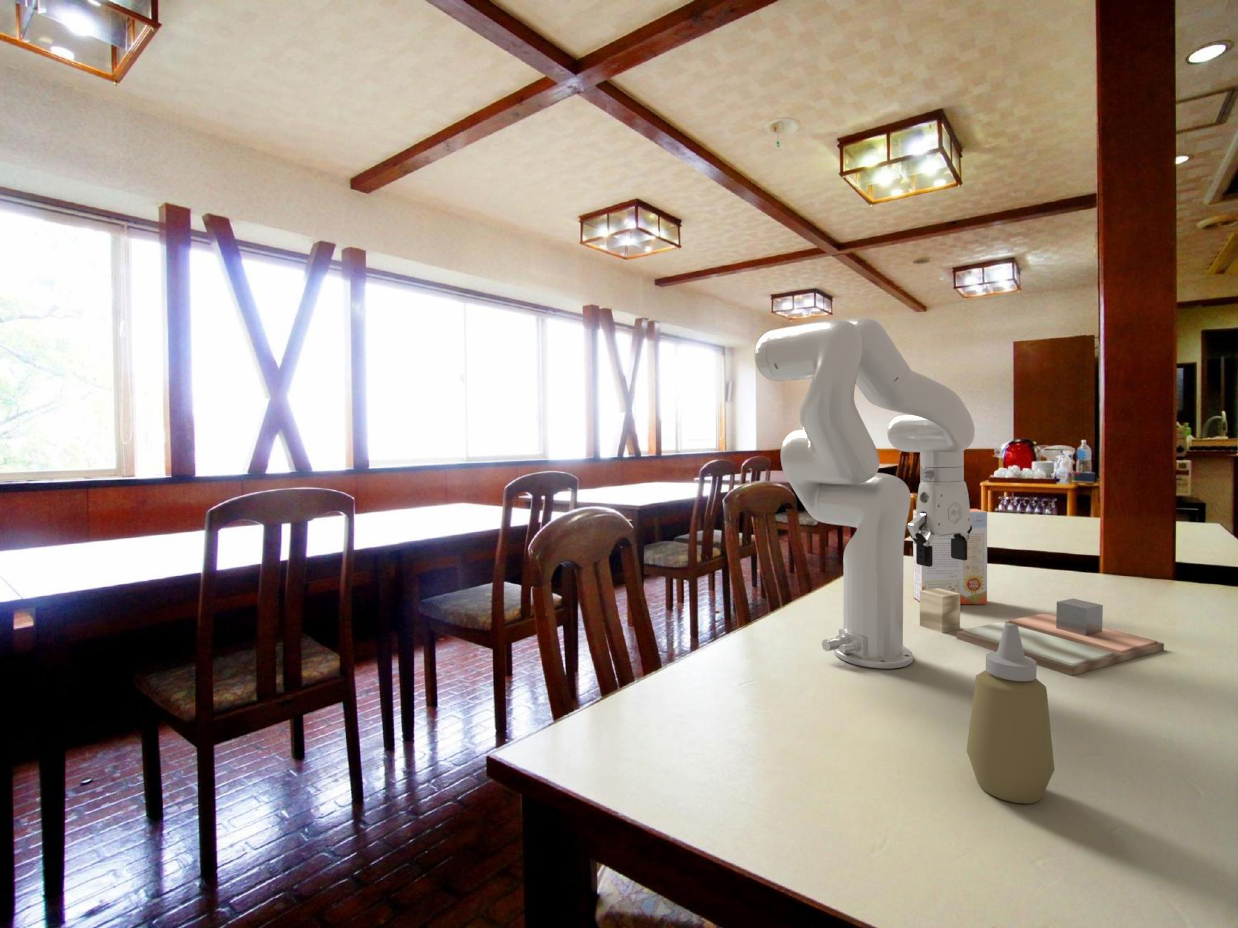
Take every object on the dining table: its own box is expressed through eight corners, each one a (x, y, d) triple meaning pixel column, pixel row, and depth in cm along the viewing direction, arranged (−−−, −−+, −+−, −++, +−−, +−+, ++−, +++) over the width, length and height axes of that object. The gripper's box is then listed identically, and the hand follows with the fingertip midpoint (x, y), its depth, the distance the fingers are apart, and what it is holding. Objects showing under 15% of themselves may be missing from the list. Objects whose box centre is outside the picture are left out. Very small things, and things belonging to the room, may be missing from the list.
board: (1071, 675, 98) (1072, 665, 98) (956, 638, 116) (956, 629, 116) (1163, 649, 108) (1164, 640, 108) (1044, 619, 126) (1045, 611, 126)
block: (941, 632, 119) (942, 596, 119) (919, 625, 124) (920, 590, 123) (959, 629, 121) (960, 593, 121) (937, 622, 126) (937, 588, 126)
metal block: (1085, 635, 111) (1086, 608, 111) (1056, 628, 116) (1056, 601, 116) (1102, 631, 113) (1102, 604, 113) (1072, 624, 118) (1073, 598, 118)
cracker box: (975, 598, 143) (976, 507, 142) (987, 605, 137) (989, 511, 136) (911, 597, 145) (912, 508, 144) (921, 604, 139) (922, 511, 138)
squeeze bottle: (1019, 768, 71) (1022, 612, 70) (1073, 810, 63) (1077, 636, 62) (950, 770, 71) (952, 614, 70) (995, 813, 63) (998, 638, 62)
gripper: (926, 480, 114) (927, 571, 115) (989, 473, 121) (989, 560, 122) (893, 477, 121) (894, 564, 122) (955, 471, 128) (955, 553, 129)
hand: (941, 562), depth 122 cm, fingers open, 9 cm apart
